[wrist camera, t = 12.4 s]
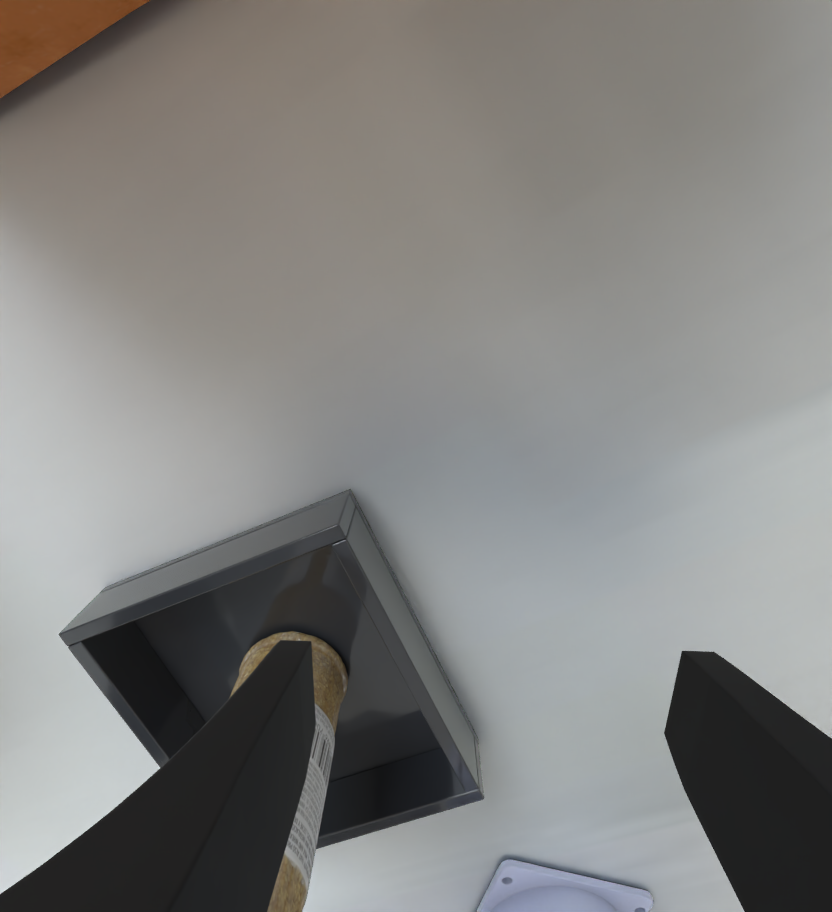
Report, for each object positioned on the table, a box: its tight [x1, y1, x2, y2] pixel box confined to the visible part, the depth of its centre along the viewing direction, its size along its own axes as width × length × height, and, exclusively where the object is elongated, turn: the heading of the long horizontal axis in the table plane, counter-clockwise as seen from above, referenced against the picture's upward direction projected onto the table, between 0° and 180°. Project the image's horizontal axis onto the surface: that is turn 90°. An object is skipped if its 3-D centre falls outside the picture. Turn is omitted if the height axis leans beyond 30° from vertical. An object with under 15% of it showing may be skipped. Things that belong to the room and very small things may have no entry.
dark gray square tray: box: [59, 489, 484, 849], centre depth 22 cm, size 13×11×3 cm
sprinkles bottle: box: [229, 631, 348, 912], centre depth 17 cm, size 5×5×13 cm
